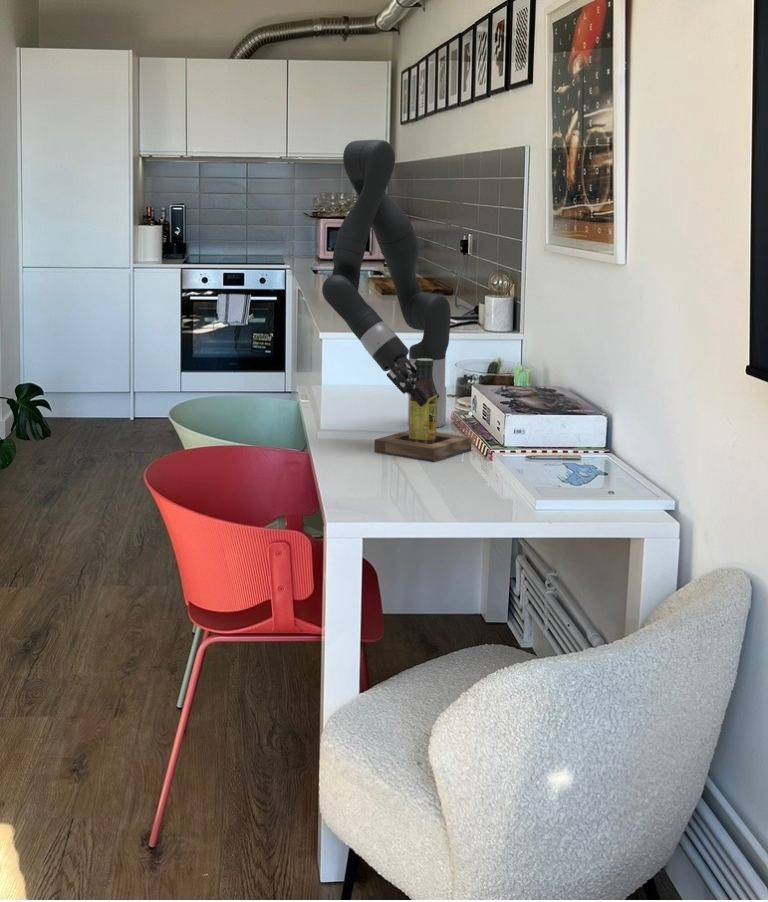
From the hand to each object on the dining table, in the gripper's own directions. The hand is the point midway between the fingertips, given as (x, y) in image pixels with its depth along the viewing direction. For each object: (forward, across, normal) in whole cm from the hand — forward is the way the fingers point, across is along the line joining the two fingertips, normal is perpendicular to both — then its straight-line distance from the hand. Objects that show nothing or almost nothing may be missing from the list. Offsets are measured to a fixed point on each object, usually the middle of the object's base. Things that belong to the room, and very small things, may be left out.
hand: (430, 401), depth 274 cm
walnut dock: (+7, 0, +9) cm, 12 cm away
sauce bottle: (+6, 0, +9) cm, 11 cm away
